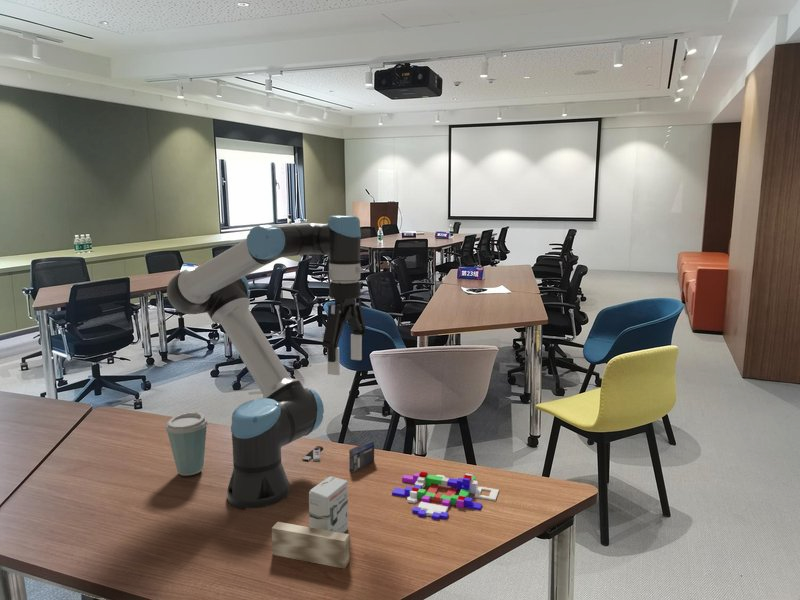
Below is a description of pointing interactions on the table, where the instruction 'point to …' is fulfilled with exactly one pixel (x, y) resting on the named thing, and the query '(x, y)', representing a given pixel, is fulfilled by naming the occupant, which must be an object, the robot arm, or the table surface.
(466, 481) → the building block set
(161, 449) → the table surface
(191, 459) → the disposable coffee cup
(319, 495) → the ink box
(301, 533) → the board
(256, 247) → the robot arm
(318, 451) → the usb flash drive
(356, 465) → the mini dv tape
